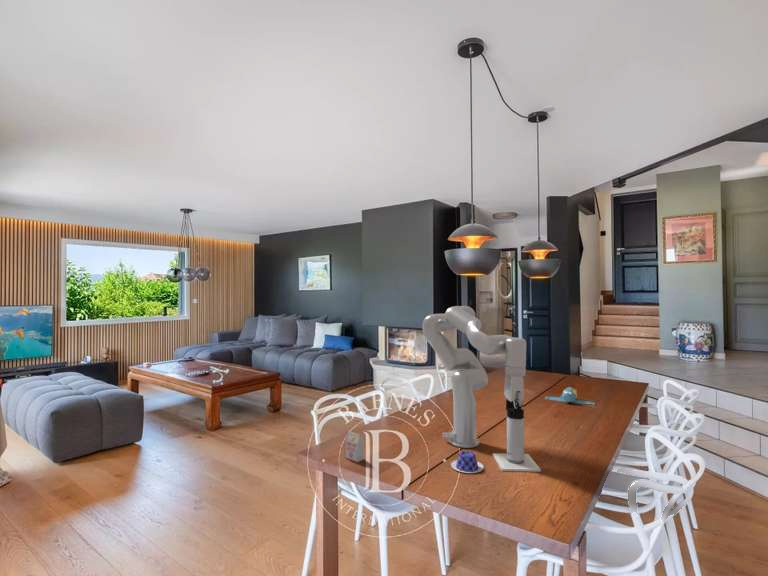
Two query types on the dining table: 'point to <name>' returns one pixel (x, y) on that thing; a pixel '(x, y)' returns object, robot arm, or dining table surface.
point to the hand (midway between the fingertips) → (513, 414)
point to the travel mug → (515, 438)
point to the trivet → (508, 466)
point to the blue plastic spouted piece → (569, 397)
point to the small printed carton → (353, 447)
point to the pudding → (467, 463)
